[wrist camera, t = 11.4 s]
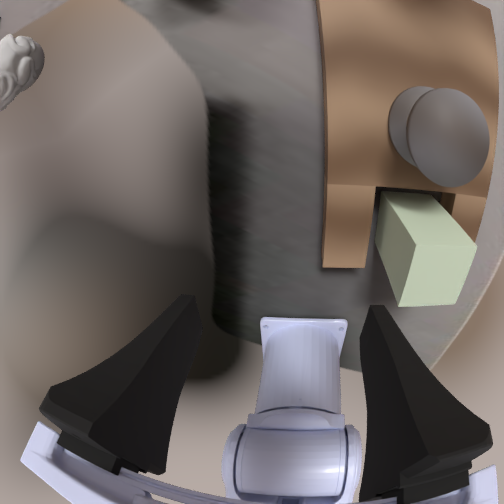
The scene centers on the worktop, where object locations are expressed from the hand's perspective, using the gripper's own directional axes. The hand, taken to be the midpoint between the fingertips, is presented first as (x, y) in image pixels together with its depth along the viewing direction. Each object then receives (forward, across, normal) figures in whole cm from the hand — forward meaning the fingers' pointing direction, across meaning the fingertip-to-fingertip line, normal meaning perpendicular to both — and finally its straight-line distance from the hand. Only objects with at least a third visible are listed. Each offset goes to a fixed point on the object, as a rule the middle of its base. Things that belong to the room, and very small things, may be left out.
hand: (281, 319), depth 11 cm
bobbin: (+8, -8, -7) cm, 13 cm away
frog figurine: (+10, +21, -15) cm, 28 cm away
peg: (+10, -8, 0) cm, 13 cm away
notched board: (+10, -8, -7) cm, 15 cm away
